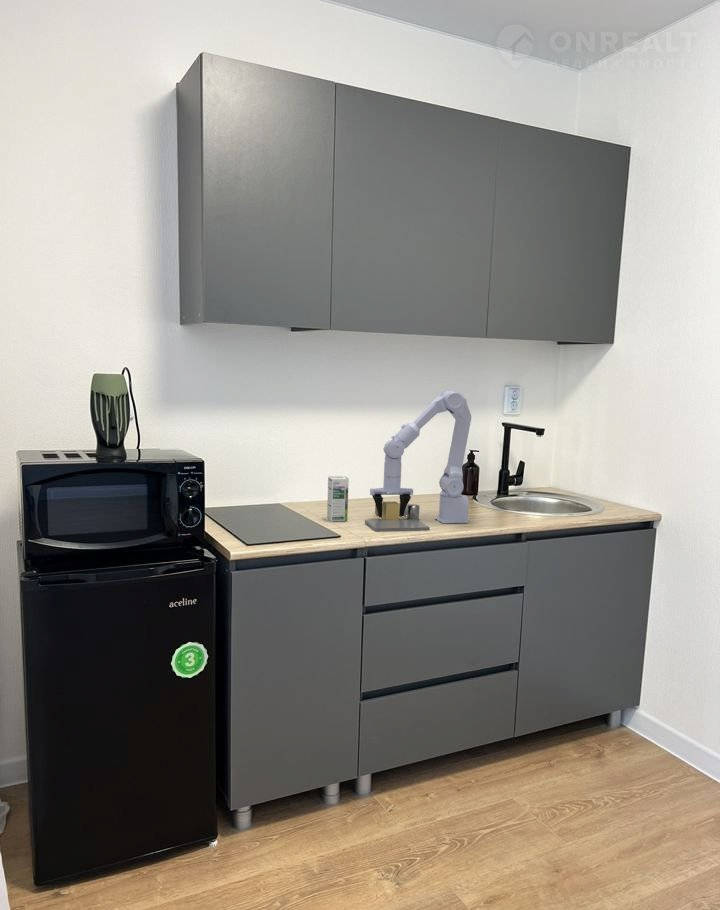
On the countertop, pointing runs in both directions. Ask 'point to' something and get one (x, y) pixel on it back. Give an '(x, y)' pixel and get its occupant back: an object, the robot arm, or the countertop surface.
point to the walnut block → (376, 509)
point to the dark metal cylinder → (413, 512)
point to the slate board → (396, 525)
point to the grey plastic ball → (405, 510)
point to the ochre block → (390, 511)
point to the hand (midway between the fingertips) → (390, 516)
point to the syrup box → (337, 498)
